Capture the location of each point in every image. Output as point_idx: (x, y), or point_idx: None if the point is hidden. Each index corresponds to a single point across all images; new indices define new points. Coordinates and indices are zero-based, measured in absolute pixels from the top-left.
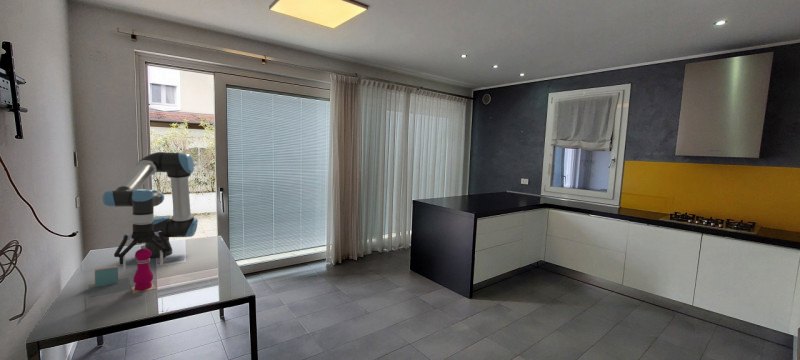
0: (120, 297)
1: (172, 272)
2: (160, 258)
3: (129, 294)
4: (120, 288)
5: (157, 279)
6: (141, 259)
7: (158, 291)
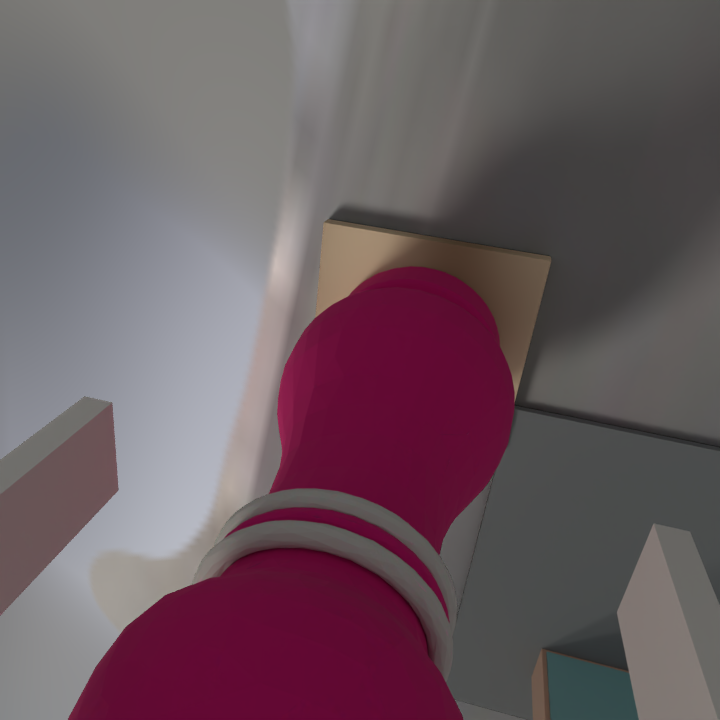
0: (691, 254)
1: (115, 564)
2: (31, 531)
3: (582, 278)
4: (583, 506)
5: (248, 497)
6: (367, 596)
7: (316, 126)
